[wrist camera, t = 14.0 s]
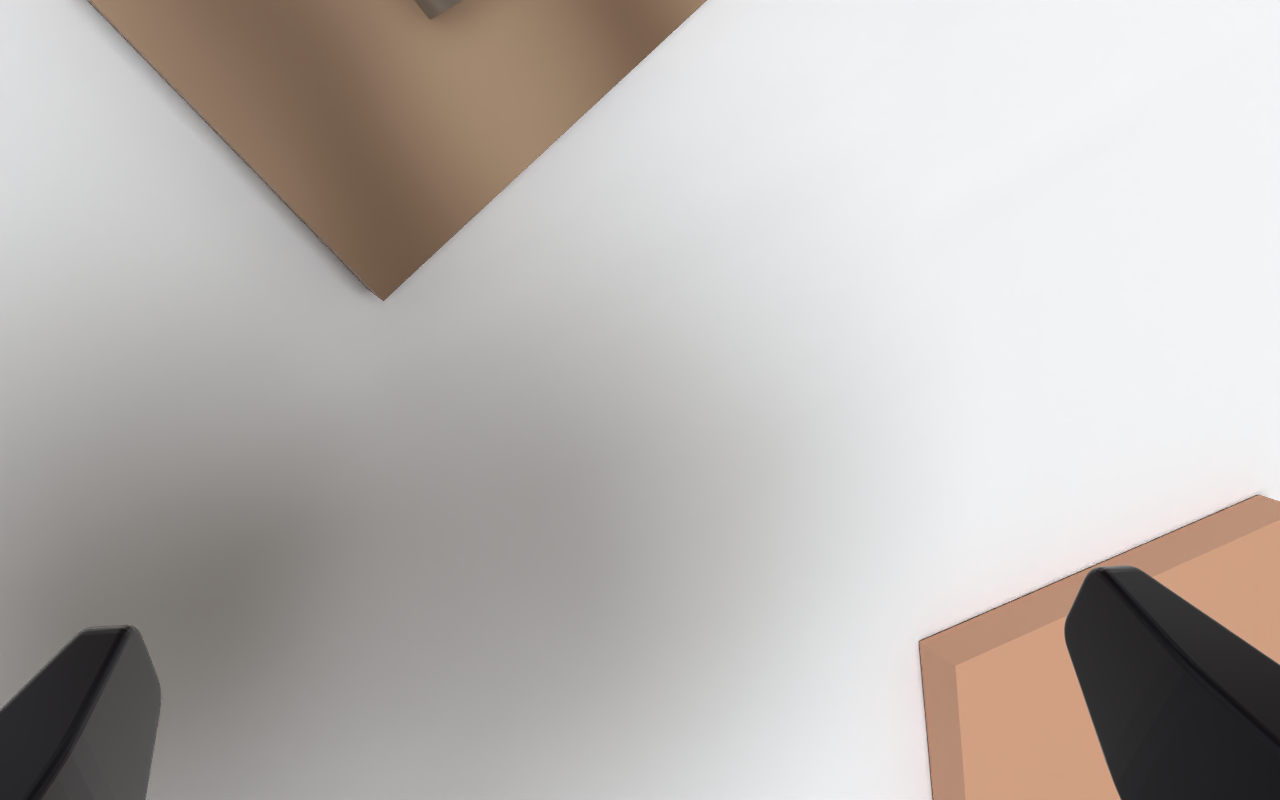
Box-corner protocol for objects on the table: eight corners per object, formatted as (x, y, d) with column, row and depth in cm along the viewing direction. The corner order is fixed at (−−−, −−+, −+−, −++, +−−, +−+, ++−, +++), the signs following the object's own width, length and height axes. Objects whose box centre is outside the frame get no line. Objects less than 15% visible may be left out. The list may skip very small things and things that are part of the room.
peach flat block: (941, 891, 31) (974, 924, 29) (919, 641, 28) (955, 665, 27) (1252, 722, 36) (1293, 744, 34) (1258, 494, 33) (1303, 509, 31)
